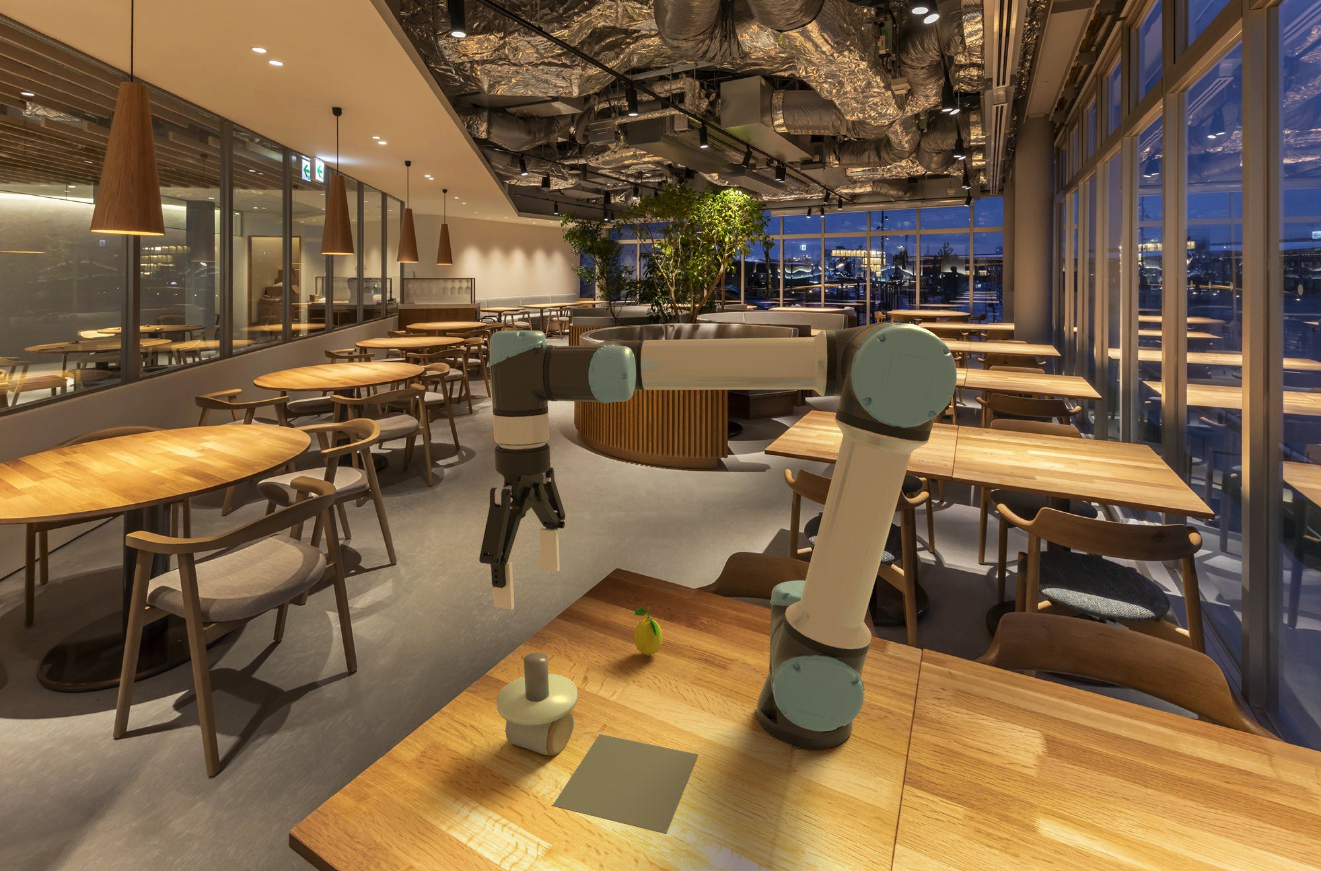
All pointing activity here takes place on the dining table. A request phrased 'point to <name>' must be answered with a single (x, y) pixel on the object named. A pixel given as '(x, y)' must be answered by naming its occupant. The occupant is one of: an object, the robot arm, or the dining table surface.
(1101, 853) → the dining table surface
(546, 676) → the lid
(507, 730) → the ceramic mug
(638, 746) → the mat
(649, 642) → the lemon
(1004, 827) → the dining table surface
